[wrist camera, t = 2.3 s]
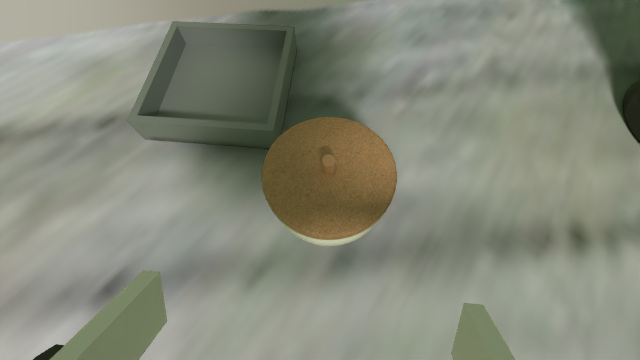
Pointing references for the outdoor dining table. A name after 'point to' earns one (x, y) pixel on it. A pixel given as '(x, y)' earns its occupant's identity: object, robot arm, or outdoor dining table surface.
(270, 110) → the bin
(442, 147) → the outdoor dining table surface
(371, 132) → the lidded jar
